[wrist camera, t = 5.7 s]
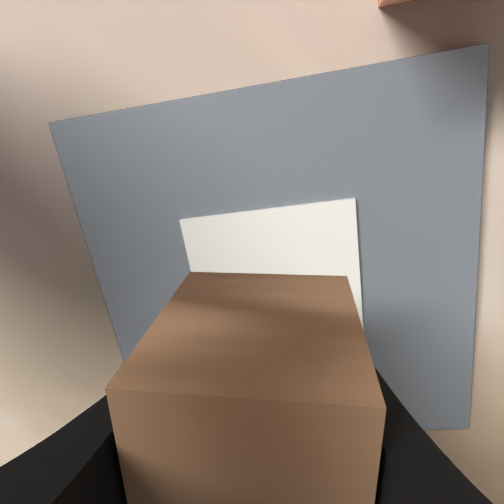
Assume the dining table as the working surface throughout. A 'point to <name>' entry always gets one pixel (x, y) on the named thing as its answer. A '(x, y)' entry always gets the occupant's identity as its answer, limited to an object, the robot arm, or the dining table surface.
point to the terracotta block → (390, 2)
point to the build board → (304, 205)
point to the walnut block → (250, 396)
